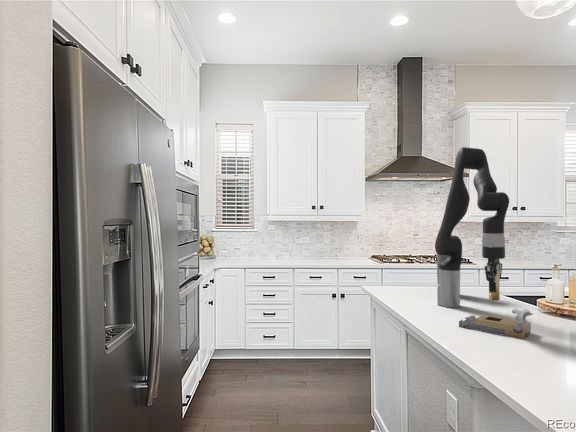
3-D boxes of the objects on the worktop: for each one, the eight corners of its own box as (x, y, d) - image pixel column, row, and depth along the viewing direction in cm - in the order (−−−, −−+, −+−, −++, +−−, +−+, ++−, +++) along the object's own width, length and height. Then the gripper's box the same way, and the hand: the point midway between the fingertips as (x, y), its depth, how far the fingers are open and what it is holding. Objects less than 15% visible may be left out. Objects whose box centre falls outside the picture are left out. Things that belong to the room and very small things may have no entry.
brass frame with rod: (458, 326, 146) (458, 315, 146) (467, 321, 153) (467, 310, 153) (524, 339, 131) (524, 326, 131) (530, 332, 138) (530, 320, 138)
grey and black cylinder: (464, 297, 199) (464, 230, 199) (438, 296, 201) (438, 230, 201) (457, 292, 211) (457, 230, 211) (433, 292, 213) (433, 230, 214)
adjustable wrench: (522, 326, 148) (522, 322, 148) (503, 323, 152) (503, 319, 152) (530, 313, 167) (530, 309, 167) (514, 311, 171) (514, 307, 171)
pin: (488, 299, 142) (487, 270, 142) (490, 298, 145) (490, 269, 145) (498, 300, 140) (497, 271, 140) (500, 299, 142) (500, 270, 142)
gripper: (488, 244, 150) (488, 287, 150) (476, 246, 140) (477, 292, 140) (509, 244, 145) (510, 290, 145) (499, 246, 135) (499, 295, 135)
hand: (494, 291), depth 142 cm, fingers closed on pin, 3 cm apart
